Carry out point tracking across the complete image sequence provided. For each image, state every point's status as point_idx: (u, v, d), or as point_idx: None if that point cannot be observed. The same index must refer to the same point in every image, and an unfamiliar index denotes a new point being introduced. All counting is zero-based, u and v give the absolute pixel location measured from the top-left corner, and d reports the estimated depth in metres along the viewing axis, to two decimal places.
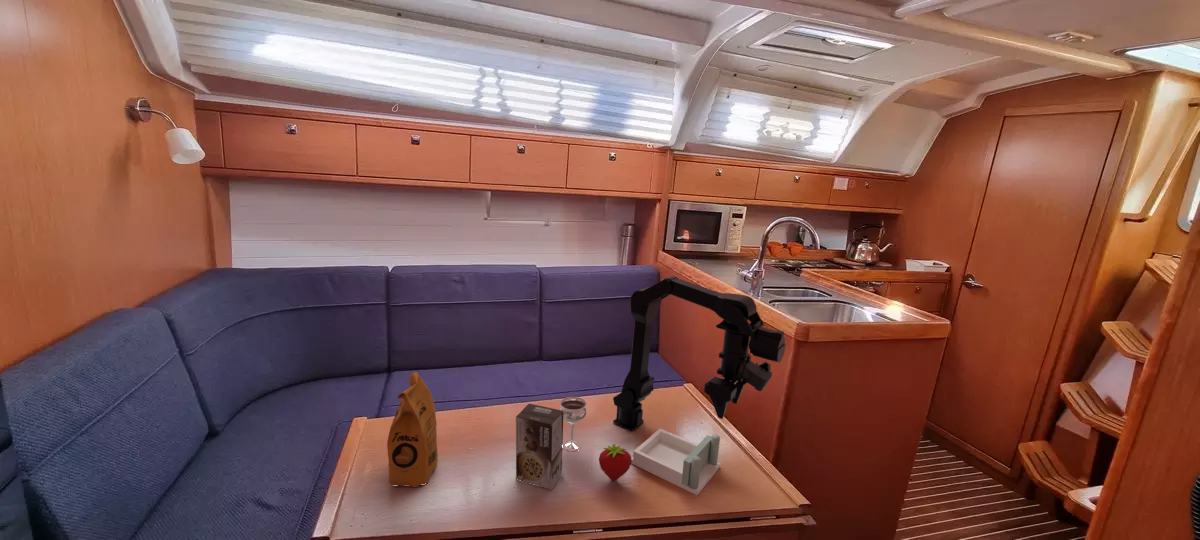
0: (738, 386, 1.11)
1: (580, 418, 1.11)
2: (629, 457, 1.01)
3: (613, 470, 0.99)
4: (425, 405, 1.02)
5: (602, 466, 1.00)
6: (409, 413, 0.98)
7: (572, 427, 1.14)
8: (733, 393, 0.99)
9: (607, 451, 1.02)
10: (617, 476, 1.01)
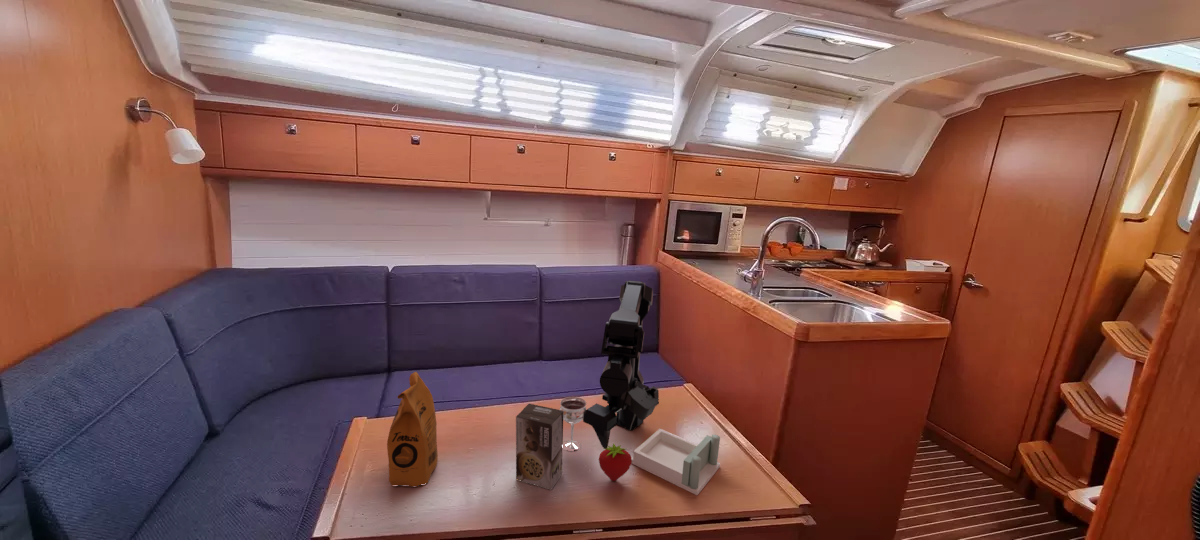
0: (631, 411, 1.04)
1: (580, 418, 1.11)
2: (629, 457, 1.01)
3: (613, 470, 0.99)
4: (425, 405, 1.02)
5: (602, 466, 1.00)
6: (409, 413, 0.98)
7: (572, 427, 1.14)
8: (611, 422, 0.92)
9: (607, 451, 1.02)
10: (617, 476, 1.01)
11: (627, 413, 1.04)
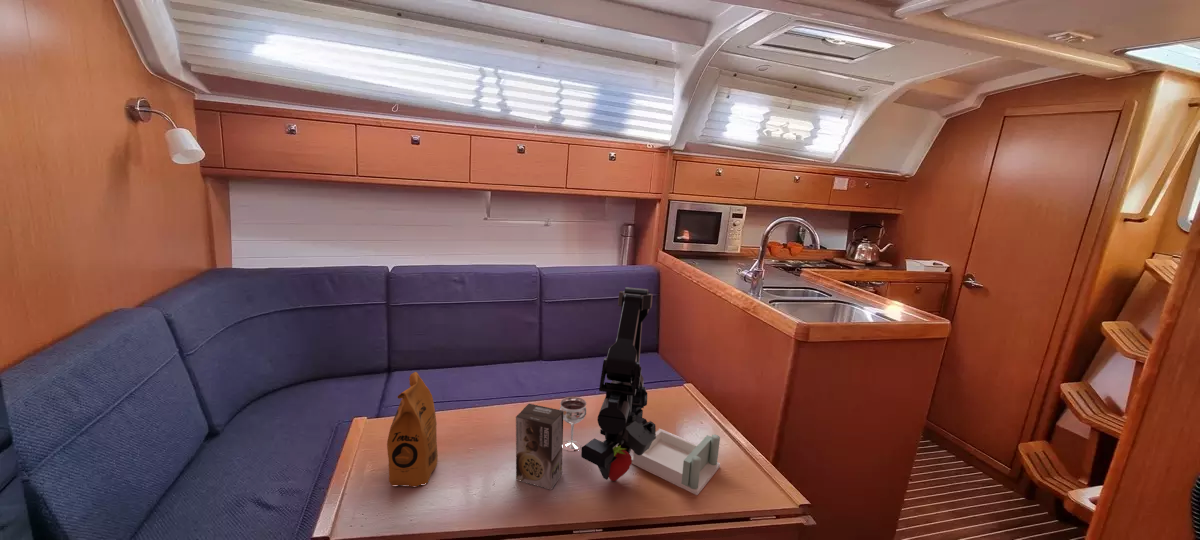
0: (625, 446, 1.04)
1: (580, 418, 1.11)
2: (629, 457, 1.01)
3: (613, 470, 0.99)
4: (425, 405, 1.02)
5: None
6: (409, 413, 0.98)
7: (572, 427, 1.14)
8: (608, 459, 0.93)
9: None
10: (617, 476, 1.01)
11: None
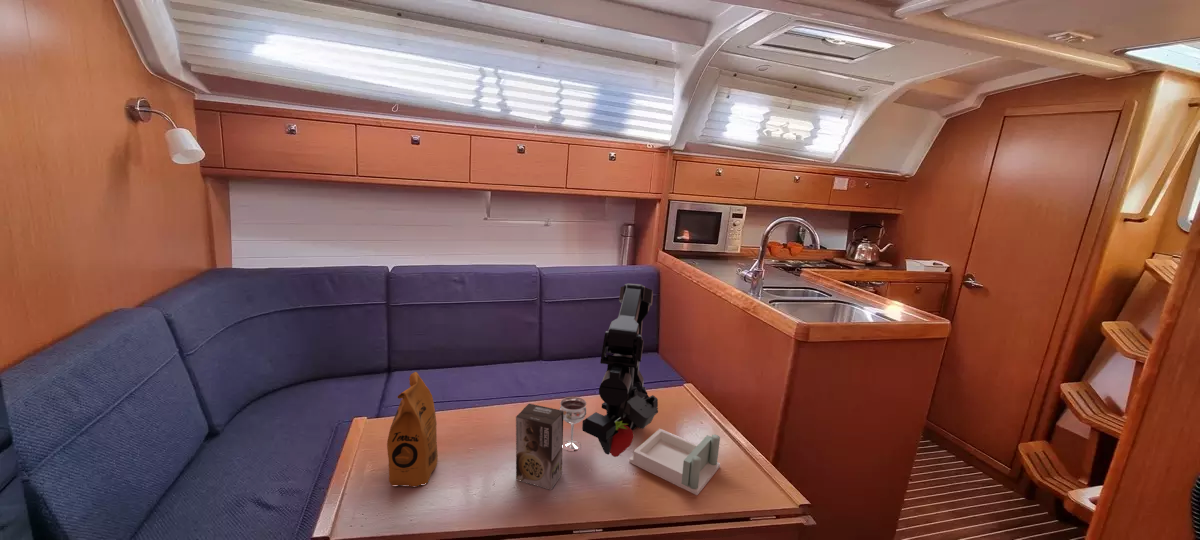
0: (627, 422, 1.03)
1: (580, 418, 1.11)
2: (631, 432, 1.00)
3: (615, 444, 0.98)
4: (425, 405, 1.02)
5: None
6: (409, 413, 0.98)
7: (572, 427, 1.14)
8: (610, 432, 0.92)
9: None
10: (619, 451, 1.00)
11: (624, 423, 1.03)
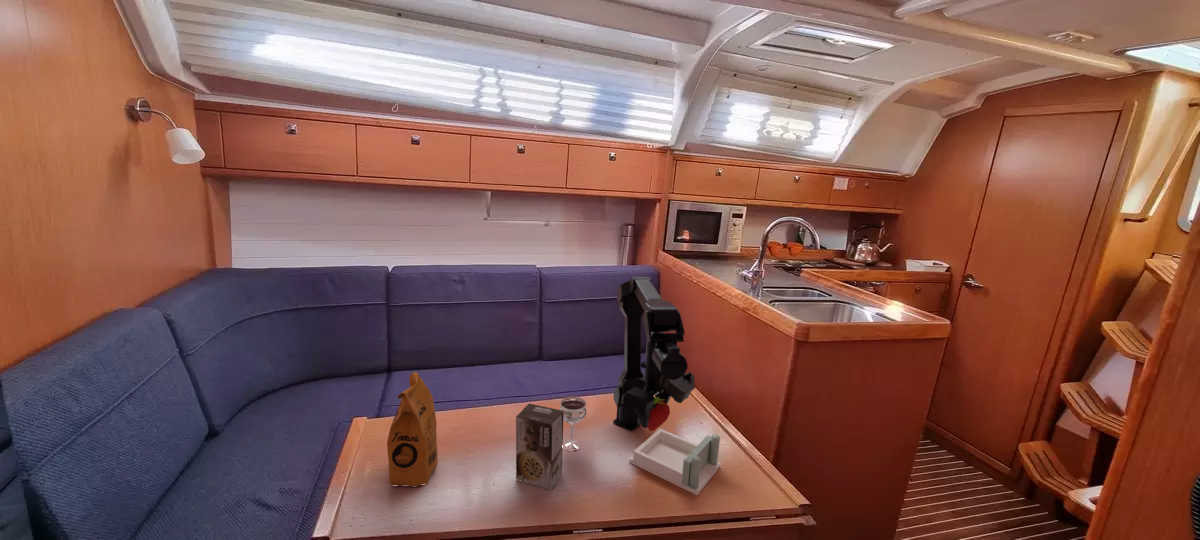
0: (663, 398, 1.07)
1: (580, 418, 1.11)
2: (668, 407, 1.03)
3: (652, 418, 1.02)
4: (425, 405, 1.02)
5: None
6: (409, 413, 0.98)
7: (572, 427, 1.14)
8: (650, 405, 0.96)
9: None
10: (656, 425, 1.03)
11: None
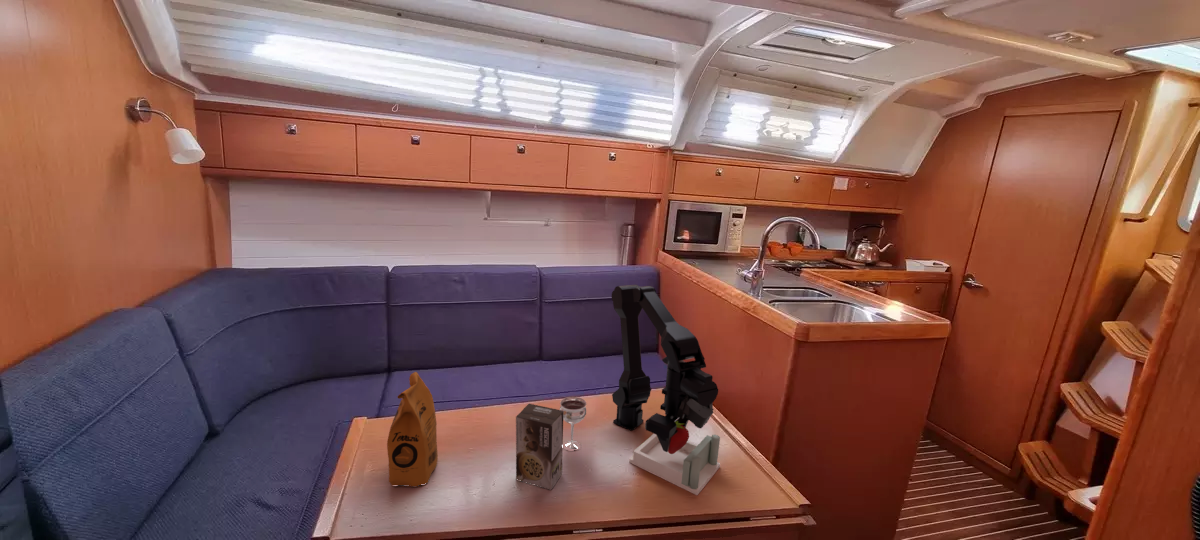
0: (682, 422, 1.11)
1: (580, 418, 1.11)
2: (687, 431, 1.08)
3: (673, 443, 1.06)
4: (425, 405, 1.02)
5: None
6: (409, 413, 0.98)
7: (572, 427, 1.14)
8: (672, 431, 1.00)
9: None
10: (676, 449, 1.08)
11: None
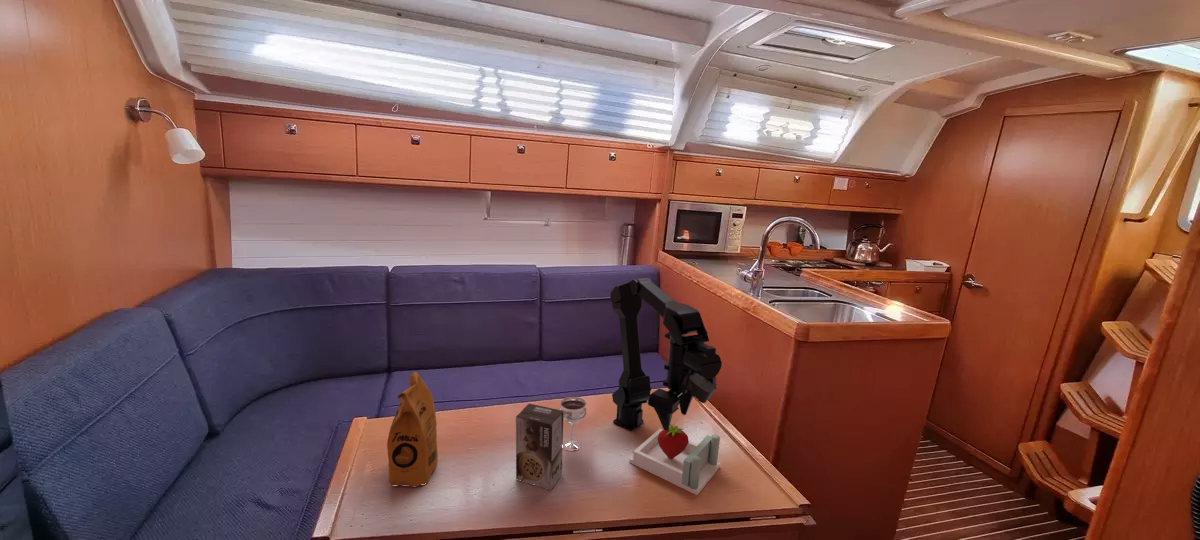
0: (687, 397, 1.11)
1: (580, 418, 1.11)
2: (686, 436, 1.08)
3: (672, 448, 1.07)
4: (425, 405, 1.02)
5: (661, 444, 1.08)
6: (409, 413, 0.98)
7: (572, 427, 1.14)
8: (675, 405, 0.99)
9: (666, 431, 1.09)
10: (675, 454, 1.08)
11: (683, 399, 1.11)
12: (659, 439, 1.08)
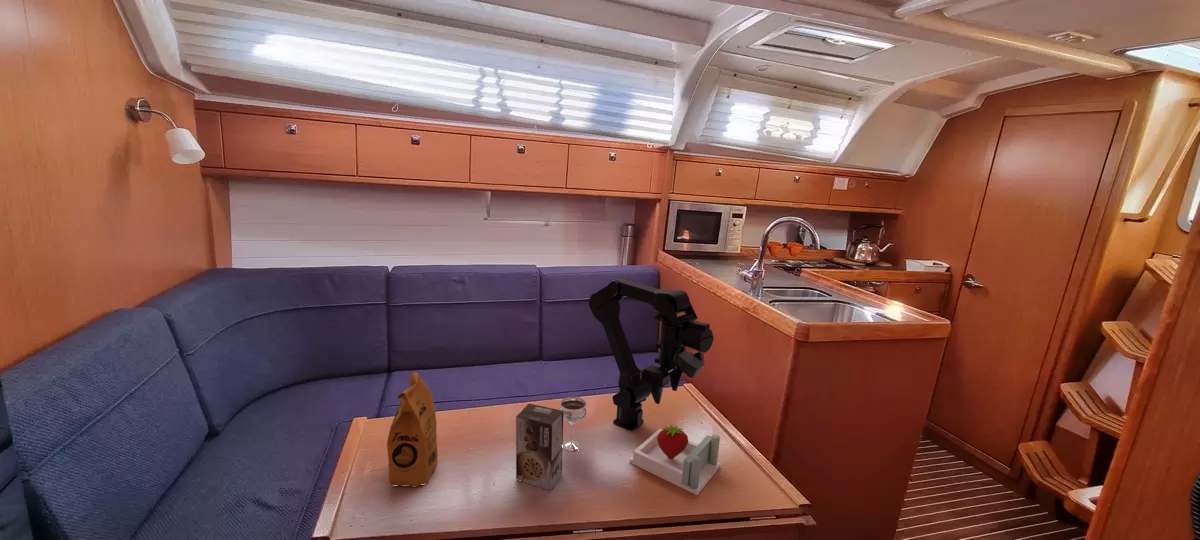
0: (677, 374, 1.19)
1: (580, 418, 1.11)
2: (686, 436, 1.08)
3: (672, 448, 1.07)
4: (425, 405, 1.02)
5: (661, 445, 1.08)
6: (409, 413, 0.98)
7: (572, 427, 1.14)
8: (665, 379, 1.07)
9: (665, 431, 1.09)
10: (675, 454, 1.08)
11: (674, 376, 1.20)
12: (659, 439, 1.08)
